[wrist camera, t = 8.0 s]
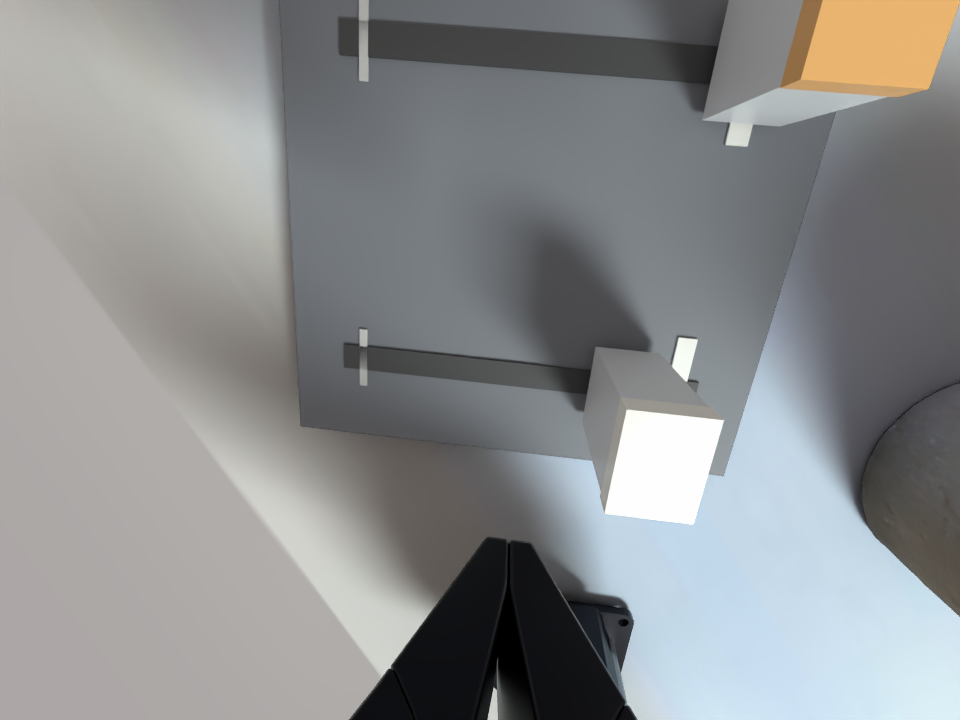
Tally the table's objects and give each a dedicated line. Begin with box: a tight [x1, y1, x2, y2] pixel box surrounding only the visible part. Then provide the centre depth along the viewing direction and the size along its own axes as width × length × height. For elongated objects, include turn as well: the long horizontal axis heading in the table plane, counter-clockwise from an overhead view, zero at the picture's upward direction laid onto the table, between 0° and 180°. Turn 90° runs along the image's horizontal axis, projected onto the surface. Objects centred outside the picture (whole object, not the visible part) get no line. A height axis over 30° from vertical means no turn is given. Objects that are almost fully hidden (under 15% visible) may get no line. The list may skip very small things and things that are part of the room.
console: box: [279, 0, 836, 476], centre depth 17 cm, size 18×18×1 cm
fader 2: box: [702, 0, 960, 127], centre depth 11 cm, size 3×2×6 cm
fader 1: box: [582, 347, 724, 524], centre depth 15 cm, size 3×2×6 cm
